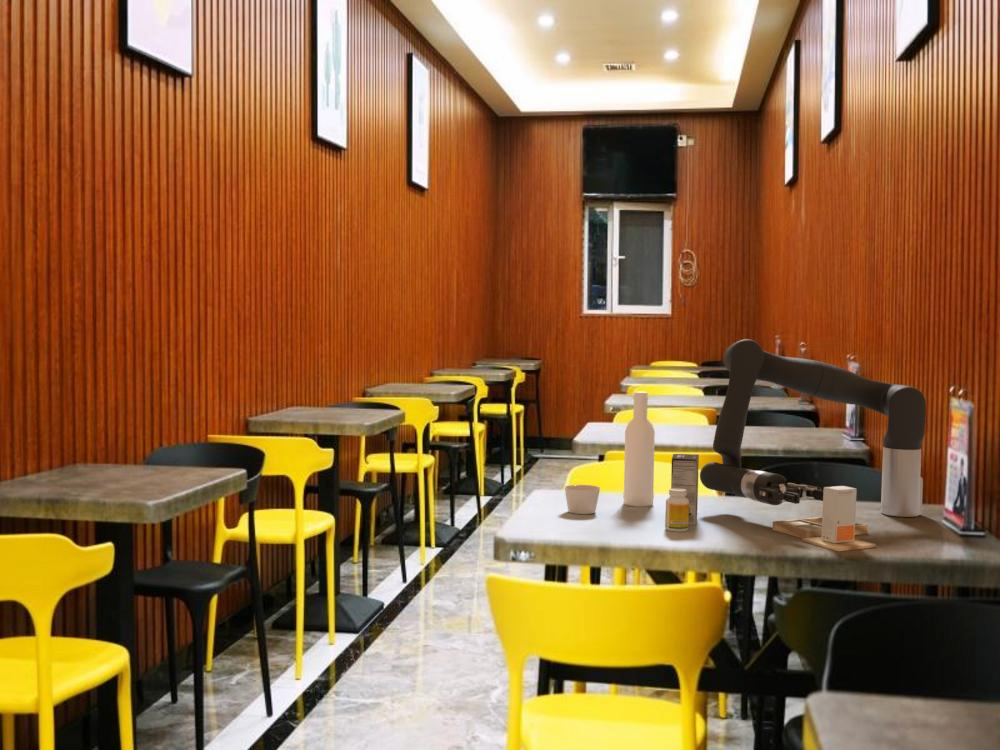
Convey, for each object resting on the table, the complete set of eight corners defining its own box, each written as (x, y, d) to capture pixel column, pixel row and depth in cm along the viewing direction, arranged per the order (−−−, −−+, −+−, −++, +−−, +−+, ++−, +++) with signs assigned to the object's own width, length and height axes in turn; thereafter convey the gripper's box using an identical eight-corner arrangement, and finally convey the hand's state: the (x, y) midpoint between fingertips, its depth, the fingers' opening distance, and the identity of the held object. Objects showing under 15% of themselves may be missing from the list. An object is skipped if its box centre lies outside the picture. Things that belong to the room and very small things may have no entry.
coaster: (838, 537, 236) (838, 534, 236) (875, 547, 226) (875, 544, 226) (801, 541, 231) (802, 538, 231) (838, 551, 221) (838, 548, 221)
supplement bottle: (660, 528, 243) (661, 488, 243) (679, 526, 245) (680, 486, 245) (674, 532, 238) (675, 491, 238) (693, 531, 241) (694, 490, 240)
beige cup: (606, 513, 262) (607, 488, 261) (578, 516, 257) (579, 491, 256) (584, 507, 269) (585, 483, 269) (557, 510, 264) (557, 486, 264)
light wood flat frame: (829, 524, 251) (829, 516, 251) (867, 533, 241) (867, 525, 240) (772, 529, 243) (772, 521, 243) (808, 539, 233) (809, 531, 232)
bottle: (657, 503, 277) (659, 391, 276) (648, 507, 270) (650, 393, 268) (628, 500, 281) (631, 390, 279) (619, 505, 273) (621, 392, 272)
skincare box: (834, 544, 225) (836, 489, 225) (820, 540, 229) (822, 486, 229) (855, 542, 228) (857, 488, 227) (841, 538, 232) (843, 485, 231)
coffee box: (671, 517, 258) (672, 453, 257) (697, 518, 256) (698, 454, 256) (669, 524, 249) (671, 457, 248) (696, 525, 247) (698, 458, 247)
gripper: (741, 473, 246) (789, 483, 232) (787, 470, 253) (836, 479, 239) (740, 504, 247) (788, 516, 232) (786, 500, 253) (835, 512, 239)
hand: (812, 497), depth 236 cm, fingers open, 8 cm apart
